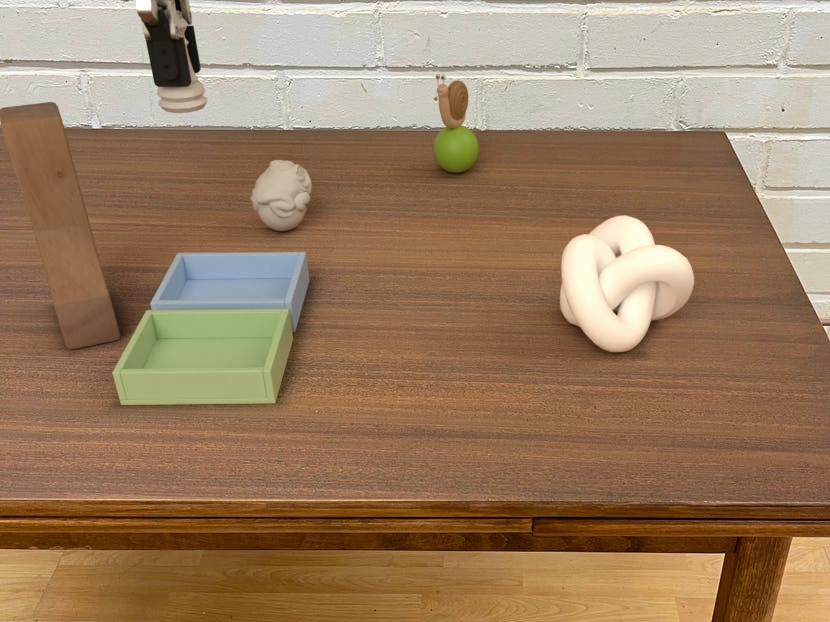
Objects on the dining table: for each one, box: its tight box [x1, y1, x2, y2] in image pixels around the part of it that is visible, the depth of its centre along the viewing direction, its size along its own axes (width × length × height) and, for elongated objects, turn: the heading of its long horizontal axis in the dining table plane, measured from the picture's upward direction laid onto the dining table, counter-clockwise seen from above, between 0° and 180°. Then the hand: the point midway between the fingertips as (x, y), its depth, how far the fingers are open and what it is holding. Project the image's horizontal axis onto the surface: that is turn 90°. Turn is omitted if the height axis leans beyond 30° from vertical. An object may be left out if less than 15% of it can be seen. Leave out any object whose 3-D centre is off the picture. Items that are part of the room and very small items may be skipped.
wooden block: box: [0, 101, 121, 350], centre depth 80 cm, size 9×4×18 cm, turn 24°
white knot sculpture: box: [559, 214, 695, 353], centre depth 82 cm, size 11×12×9 cm
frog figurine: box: [250, 159, 313, 232], centre depth 100 cm, size 6×7×7 cm
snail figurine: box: [432, 73, 480, 174], centre depth 111 cm, size 5×6×12 cm
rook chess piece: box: [156, 10, 208, 114], centre depth 86 cm, size 4×4×8 cm
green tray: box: [111, 309, 294, 406], centre depth 78 cm, size 12×10×3 cm
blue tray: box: [149, 251, 310, 333], centre depth 87 cm, size 12×10×3 cm
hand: (178, 77), depth 87 cm, fingers closed on rook chess piece, 3 cm apart
